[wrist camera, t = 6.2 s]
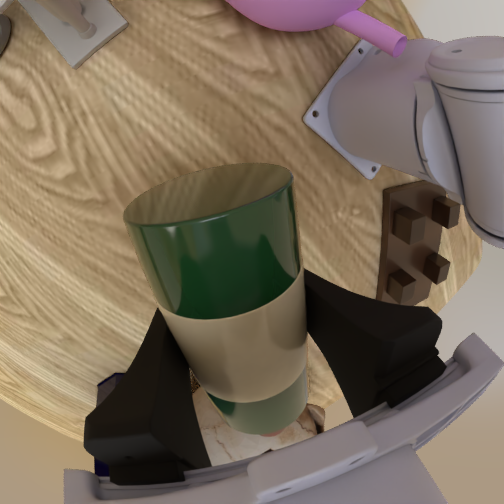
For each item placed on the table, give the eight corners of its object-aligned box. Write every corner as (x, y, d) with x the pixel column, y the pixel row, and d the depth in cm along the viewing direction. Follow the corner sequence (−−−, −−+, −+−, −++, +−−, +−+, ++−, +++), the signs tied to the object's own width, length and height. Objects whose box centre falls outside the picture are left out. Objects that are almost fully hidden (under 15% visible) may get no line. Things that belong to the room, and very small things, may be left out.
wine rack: (382, 189, 22) (409, 202, 19) (440, 176, 24) (465, 186, 21) (372, 319, 30) (389, 338, 27) (423, 293, 32) (440, 308, 29)
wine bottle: (132, 189, 10) (104, 249, 6) (261, 155, 11) (329, 187, 7) (222, 402, 18) (241, 465, 14) (292, 379, 19) (322, 438, 15)
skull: (283, 422, 36) (309, 495, 24) (169, 411, 31) (172, 501, 19) (339, 351, 32) (391, 433, 20) (202, 325, 26) (215, 447, 14)
